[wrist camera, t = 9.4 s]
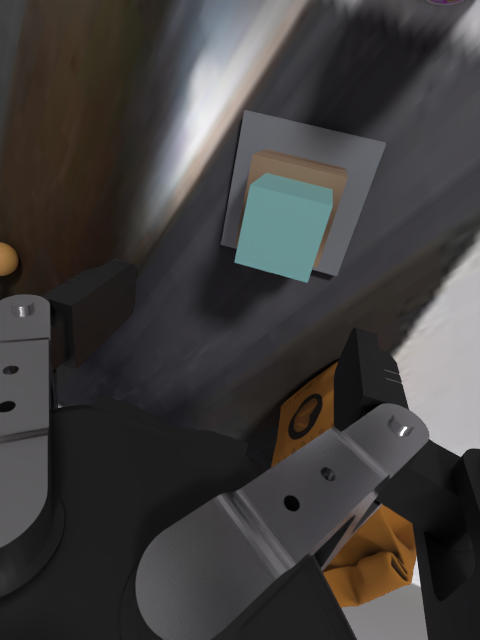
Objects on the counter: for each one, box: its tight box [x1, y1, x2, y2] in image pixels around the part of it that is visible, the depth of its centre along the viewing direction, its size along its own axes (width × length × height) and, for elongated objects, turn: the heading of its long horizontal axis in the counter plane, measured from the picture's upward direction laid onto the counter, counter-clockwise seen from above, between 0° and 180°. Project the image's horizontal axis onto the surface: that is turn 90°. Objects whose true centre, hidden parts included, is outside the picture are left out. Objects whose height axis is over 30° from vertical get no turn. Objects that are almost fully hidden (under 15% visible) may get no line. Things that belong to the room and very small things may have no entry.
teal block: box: [235, 173, 333, 283], centre depth 25 cm, size 5×5×6 cm
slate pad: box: [221, 110, 386, 276], centre depth 33 cm, size 12×12×1 cm
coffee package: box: [271, 362, 417, 607], centre depth 34 cm, size 10×12×22 cm
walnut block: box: [235, 149, 348, 268], centre depth 30 cm, size 7×7×6 cm
